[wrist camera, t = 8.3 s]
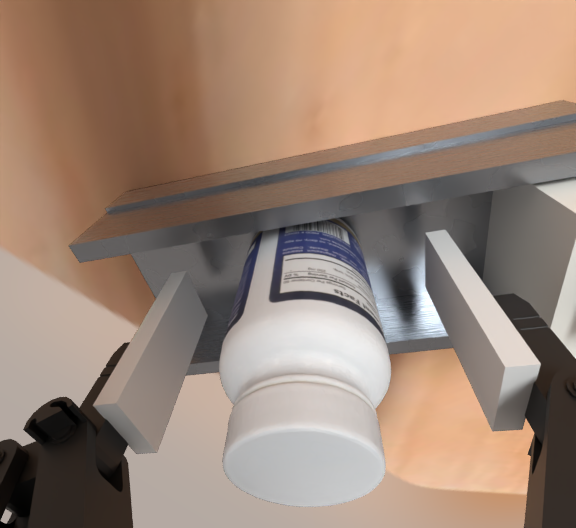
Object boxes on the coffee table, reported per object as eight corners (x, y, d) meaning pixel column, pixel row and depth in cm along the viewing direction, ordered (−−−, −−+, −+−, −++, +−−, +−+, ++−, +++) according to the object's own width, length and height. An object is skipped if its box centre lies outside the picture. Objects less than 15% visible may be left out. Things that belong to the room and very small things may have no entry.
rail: (125, 191, 17) (65, 241, 13) (563, 100, 14) (673, 126, 10) (188, 315, 22) (159, 381, 17) (528, 268, 18) (592, 336, 14)
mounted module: (496, 161, 13) (609, 235, 8) (581, 145, 13) (756, 213, 8) (482, 281, 16) (557, 386, 11) (549, 272, 16) (658, 378, 11)
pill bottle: (292, 314, 18) (278, 532, 10) (227, 243, 16) (142, 453, 8) (382, 269, 16) (453, 495, 8) (322, 181, 14) (340, 376, 6)
